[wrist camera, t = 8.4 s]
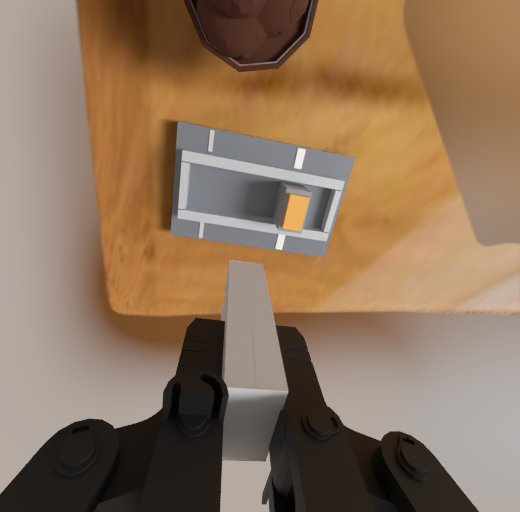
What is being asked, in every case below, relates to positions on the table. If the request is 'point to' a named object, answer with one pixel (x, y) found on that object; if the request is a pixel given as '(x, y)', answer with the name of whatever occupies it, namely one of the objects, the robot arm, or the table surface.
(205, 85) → the table surface
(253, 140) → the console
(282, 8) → the ice cream bowl
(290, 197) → the fader tab
